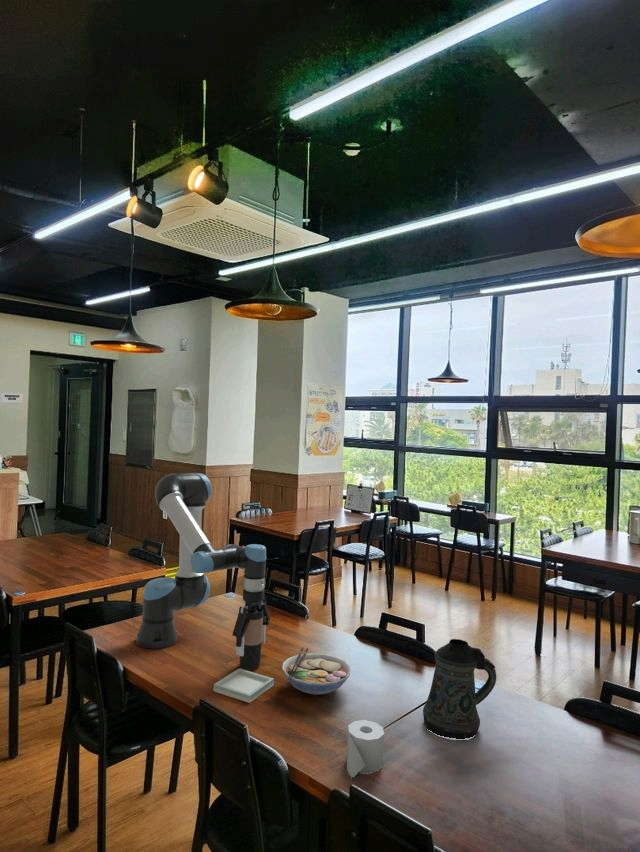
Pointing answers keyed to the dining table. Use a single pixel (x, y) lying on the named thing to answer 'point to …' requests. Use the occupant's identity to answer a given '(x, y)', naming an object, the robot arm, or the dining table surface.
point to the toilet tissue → (364, 747)
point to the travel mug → (252, 642)
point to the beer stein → (457, 690)
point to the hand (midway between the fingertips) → (250, 648)
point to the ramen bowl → (316, 672)
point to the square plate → (243, 685)
